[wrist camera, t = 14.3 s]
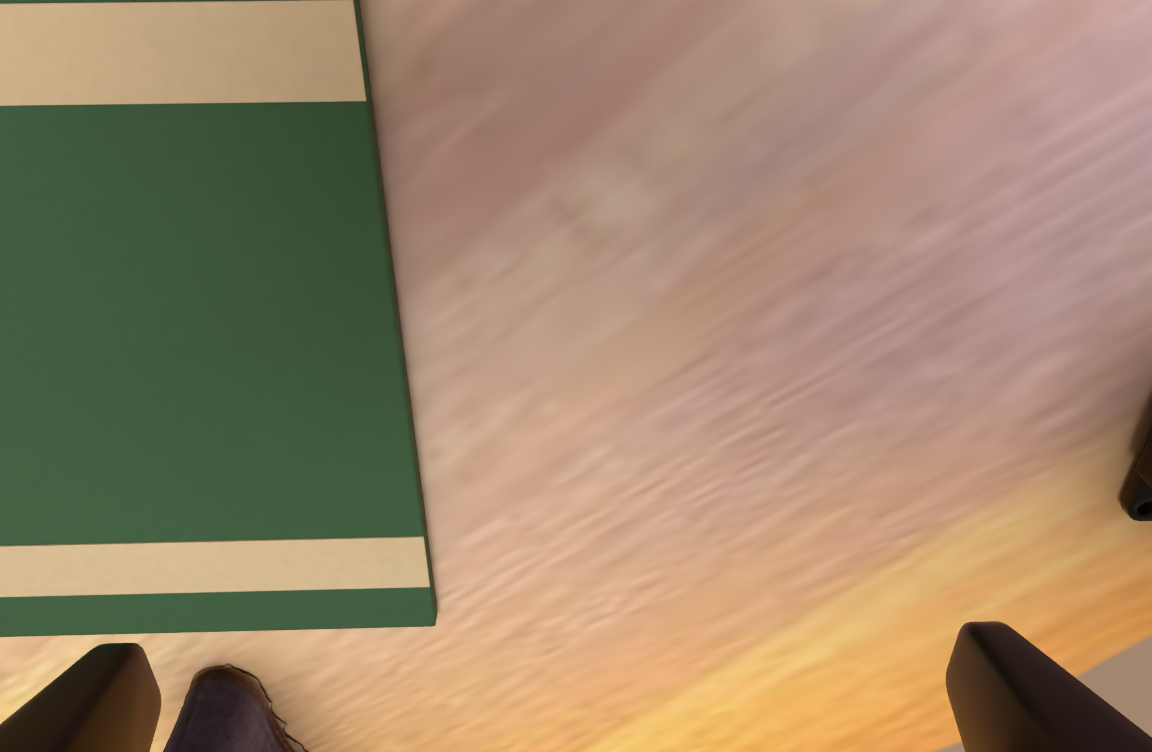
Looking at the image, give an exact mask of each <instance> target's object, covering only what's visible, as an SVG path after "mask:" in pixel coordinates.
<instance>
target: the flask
mask: <svg viewBox="0 0 1152 752" xmlns="http://www.w3.org/2000/svg"><path fill="white" fill-rule="evenodd" d="M241 673H242V672H241V671H239V670H236V669H233V668H232V667H231V666H230V665H229V664H227V665H226V666H224V667H213V668H208V669H203V670H202V671H201V672H200V673H198V674H197V675H194V677H193V679H192V682H191V685H190V689H189V691H188V693H187V695H186V697H185V701H184V705H183V707H182V708H181V711H180V714H179V717H178V719H177V722H176V724H175V727H174V729H173V731H172V733H171V735H170V738H169V740H168V742H167V744H166V746H165V748H164V751H163V752H305V751H304V750H303V748H302V745H300V744H298V743H297V742H294V741H293V740H291V739H290V738H288V737H286V735H284V731H283V729H284V727H285V726H286V725H287V724H285V723H282V721H280V720H278V719H277V718H275V717H274V715H273V714H272V712H271V704H273V703H270V702H269V700H267V698H266V697H265V693H264V692H263V691H262V689H261V687H260V684H259V682H258V680H257V679H255V678H254V677H252V678H251V676H250V675H248V674H246V673H243V674H241Z"/></svg>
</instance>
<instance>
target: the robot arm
mask: <svg viewBox="0 0 1152 752" xmlns="http://www.w3.org/2000/svg"><path fill="white" fill-rule="evenodd" d="M1121 506H1122V509H1123V510H1124V511H1125V512H1126V513H1127V514H1128V515H1129V516H1130V518H1132V519H1133V520H1137V521H1152V429H1151V431H1150V433H1149V436H1148V438H1147V440H1146V443H1145V445H1144V448H1143V450H1142V452H1141V455H1140V457H1139V460H1138V462H1137V464H1136V467H1135V469H1134V471H1133V474H1132V476H1131V479H1130V481H1129V483H1128V486H1127V488H1126V490H1125V493H1124V495H1123V498H1122V500H1121ZM946 687H947V693H948V696H949V700H950V703H951V706H952V710H953V713H954V716H955V720H956V723H957V726H958V730H959V733H960V736H961V739H962V743H963V746H964V749H965V752H1152V737H1150V736H1149V735H1148V734H1146V733H1145V732H1144V731H1143V730H1141V729H1140V728H1139V727H1137V726H1136V725H1135V724H1134V723H1133V722H1131V721H1130V720H1129V719H1127V718H1126V717H1125V716H1124V715H1122V714H1121V713H1120V712H1118V711H1117V710H1116V709H1114V708H1113V707H1112V706H1111V705H1109V704H1108V703H1107V702H1106V701H1104V700H1103V699H1102V698H1101V697H1099V696H1098V695H1097V694H1095V693H1094V692H1093V691H1091V690H1090V689H1089V688H1087V687H1086V686H1085V685H1084V684H1083V683H1081V682H1080V681H1078V680H1077V679H1076V678H1075V677H1074V676H1072V675H1071V674H1070V673H1069V672H1067V671H1066V670H1065V669H1063V668H1062V667H1061V666H1060V665H1058V664H1057V663H1056V662H1054V661H1053V660H1052V659H1051V658H1049V657H1048V656H1047V655H1045V654H1044V653H1043V652H1042V651H1040V650H1039V649H1038V648H1037V647H1035V646H1034V645H1033V644H1031V643H1030V642H1029V641H1028V640H1026V639H1025V638H1024V637H1022V636H1021V635H1020V634H1019V633H1017V632H1016V631H1015V630H1014V629H1012V628H1011V627H1009V626H1008V625H1006V624H1004V623H1002V622H996V621H990V622H968V623H966V624H964V625H963V626H962V627H961V629H960V631H959V634H958V637H957V640H956V643H955V646H954V649H953V652H952V655H951V658H950V661H949V664H948V667H947V672H946ZM160 709H161V694H160V690H159V687H158V685H157V682H156V680H155V677H154V674H153V672H152V669H151V667H150V664H149V662H148V659H147V657H146V654H145V652H144V650H143V648H142V647H141V646H139V645H138V644H136V643H108V644H102V645H99V646H97V647H95V648H93V649H92V650H90V651H89V652H88V653H87V654H85V655H84V656H83V657H82V658H81V659H79V660H78V661H77V662H76V663H74V664H73V665H72V666H71V667H70V668H68V669H67V670H66V671H65V672H64V673H62V674H61V675H60V676H59V677H57V678H56V679H55V680H54V681H53V682H51V683H50V684H49V685H48V686H46V687H45V688H44V689H43V690H42V691H40V692H39V693H38V694H37V695H35V696H34V697H33V698H32V699H31V700H29V701H28V702H27V703H26V704H25V705H23V706H22V707H21V708H20V709H18V710H17V711H16V712H15V713H14V714H12V715H11V716H10V717H9V718H7V719H6V720H5V721H4V722H3V723H1V724H0V752H149V751H150V748H151V744H152V741H153V737H154V733H155V730H156V726H157V722H158V719H159V715H160Z"/></svg>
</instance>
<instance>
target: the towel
mask: <svg viewBox="0 0 1152 752" xmlns="http://www.w3.org/2000/svg"><path fill="white" fill-rule="evenodd" d="M436 618H437V607H436V599H435V592H434V584H433V576H432V568H431V560H430V552H429V545H428V537H427V529H426V521H425V513H424V506H423V498H422V490H421V482H420V474H419V467H418V459H417V451H416V443H415V435H414V427H413V420H412V412H411V404H410V396H409V388H408V381H407V373H406V365H405V357H404V349H403V342H402V334H401V326H400V318H399V310H398V302H397V295H396V287H395V279H394V271H393V263H392V256H391V248H390V240H389V232H388V224H387V217H386V209H385V201H384V193H383V185H382V178H381V170H380V162H379V154H378V146H377V138H376V131H375V123H374V115H373V107H372V99H371V92H370V84H369V76H368V68H367V60H366V53H365V45H364V37H363V29H362V21H361V13H360V6H359V0H0V637H16V636H57V635H97V634H138V633H179V632H220V631H261V630H301V629H342V628H383V627H424V626H435V624H436Z"/></svg>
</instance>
